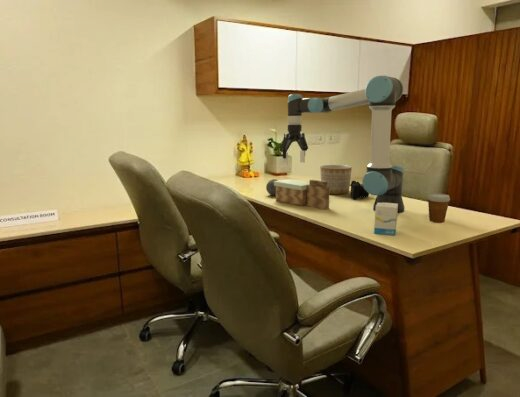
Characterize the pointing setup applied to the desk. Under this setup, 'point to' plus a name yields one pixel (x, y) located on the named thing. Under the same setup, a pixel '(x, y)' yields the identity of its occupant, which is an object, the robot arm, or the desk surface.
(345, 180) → the planter
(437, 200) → the disposable coffee cup
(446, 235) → the desk surface
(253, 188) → the desk surface
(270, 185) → the decorative ball
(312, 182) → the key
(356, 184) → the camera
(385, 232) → the ink box
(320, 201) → the brown zigzag organizer box
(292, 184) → the lid
